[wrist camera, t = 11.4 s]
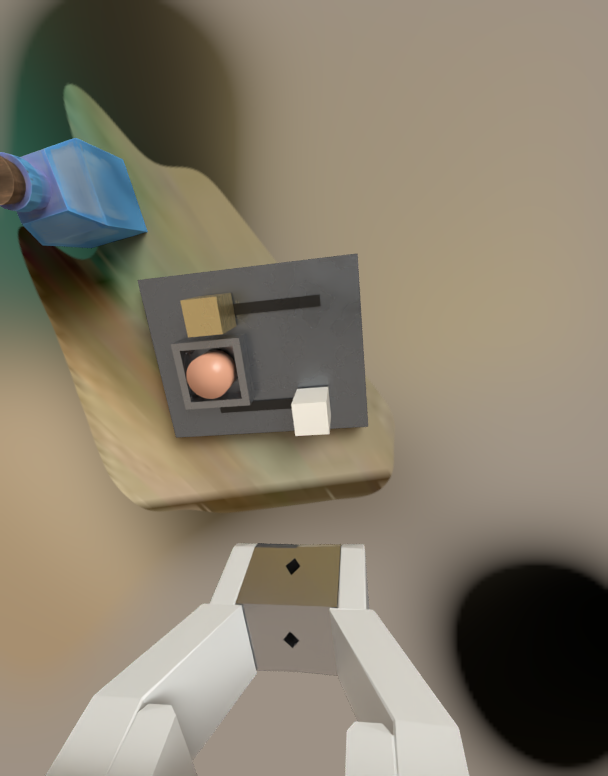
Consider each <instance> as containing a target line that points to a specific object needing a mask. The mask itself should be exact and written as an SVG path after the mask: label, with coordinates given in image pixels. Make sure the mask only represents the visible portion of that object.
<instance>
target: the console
mask: <svg viewBox="0 0 608 776" xmlns="http://www.w3.org/2000/svg"><path fill="white" fill-rule="evenodd" d="M138 284H139V288H140V292H141V296H142V301H143V305H144V309H145V313H146V317H147V321H148V325H149V329H150V333H151V337H152V341H153V345H154V349H155V353H156V357H157V362H158V366H159V370H160V374H161V378H162V382H163V386H164V390H165V394H166V398H167V402H168V406H169V410H170V414H171V418H172V423H173V427H174V431H175V435H176V437H194V436H211V435H229V434H246V433H264V432H281V431H295V429H294V421H293V414H292V406H291V404H292V401H293V398H294V396H295V393H296V390H297V389H304V388H317V387H328V389H329V400H330V410H331V422H330V429H334V428H351V427H368V415H367V399H366V383H365V368H364V351H363V336H362V319H361V303H360V287H359V271H358V256H357V254H350V255H342V256H333V257H325V258H317V259H308V260H301V261H292V262H284V263H275V264H267V265H259V266H251V267H243V268H234V269H226V270H218V271H210V272H201V273H193V274H185V275H177V276H168V277H160V278H152V279H144V280H138ZM224 293H231V296H232V302H233V308H234V314H235V320H236V327H234V328H233V329H231V330H229V331H227V332H226V333H224V334H219V335H209V336H199V337H188V335H187V330H186V325H185V321H184V316H183V311H182V307H181V302H180V301H181V300H185V299H189V298H194V297H198V296H206V295H215V294H224ZM210 350H220V351H223V352H225V353H227V354H228V355H230V356H231V357H232V359H233V360H234V361H235V363H236V368H237V378H236V380H235V382H234V383H233V385H232V386H231V387H230V388H229V389H228V390H227V391H226V392H225V393H224V394H223V395H222V396H220V397H218V398H214V399H207V398H203V397H201V396H199V395H197V394H196V393H195V392H194V391H193V390H192V389H191V388H190V386H189V384H188V382H187V377H186V373H187V368H188V366H189V364H190V363H191V362H192V361H193V360H195V359H196V358H198V357H199V356H201V355H202V354H204V353H205V352H207V351H210Z"/></svg>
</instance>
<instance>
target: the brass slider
mask: <svg viewBox="0 0 608 776" xmlns="http://www.w3.org/2000/svg"><path fill="white" fill-rule="evenodd" d="M180 302H181V307H182V311H183V316H184V321H185V325H186V330H187V335H188V337H199V336H209V335H219V334H224V333H226V332H227V331H229V330H231V329H233V328H234V327H236V320H235V314H234V308H233V302H232V296H231V293H224V294H215V295H206V296H198V297H194V298H189V299H185V300H181V301H180Z"/></svg>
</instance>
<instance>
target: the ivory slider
mask: <svg viewBox="0 0 608 776" xmlns="http://www.w3.org/2000/svg"><path fill="white" fill-rule="evenodd" d="M291 406H292V414H293V421H294V429H295V436H304V435H322V434H329V433H330V422H331V410H330V400H329V389H328V387H317V388H304V389H297V390H296V393H295V396H294V398H293V401H292V404H291Z"/></svg>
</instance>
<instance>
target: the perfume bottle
mask: <svg viewBox="0 0 608 776" xmlns="http://www.w3.org/2000/svg"><path fill="white" fill-rule="evenodd" d="M0 206H1V207H3V208H5V209H8V210H12V211H17V214H18V216H19V218H20V220H21V223H22V225H23V226H24V227H25V228H26V229H27V230H28V231H29V232H30V233H31V234H32V235H33V236H34V237H35V238H36V239H37V240H38V241H39V242H40V243H41V244H42V245H46V246H64V247H65V246H66V247H81V248H93V247H97V246H100V245H104V244H107V243H111V242H114V241H118V240H121V239H124V238H128V237H131V236H135V235H138V234H142V233H145V232H147V229H146V226H145V223H144V220H143V217H142V214H141V211H140V208H139V205H138V202H137V199H136V196H135V193H134V190H133V187H132V185H131V182H130V179H129V176H128V173H127V170H126V167H125V164H124V161H123V160H122V159H120V158H118V157H116V156H114V155H112V154H110V153H107V152H105V151H103V150H101V149H99V148H97V147H94V146H92V145H90V144H88V143H86V142H84V141H82V140H79V139H77V138H73V139H70V140H68V141H65V142H62V143H59V144H56V145H53V146H51V147H48V148H45V149H42V150H39V151H37V152H34V153H31V154H28V155H25V156H22V157H17V156H14V155H11V154H7V153H3V152H0Z"/></svg>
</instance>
